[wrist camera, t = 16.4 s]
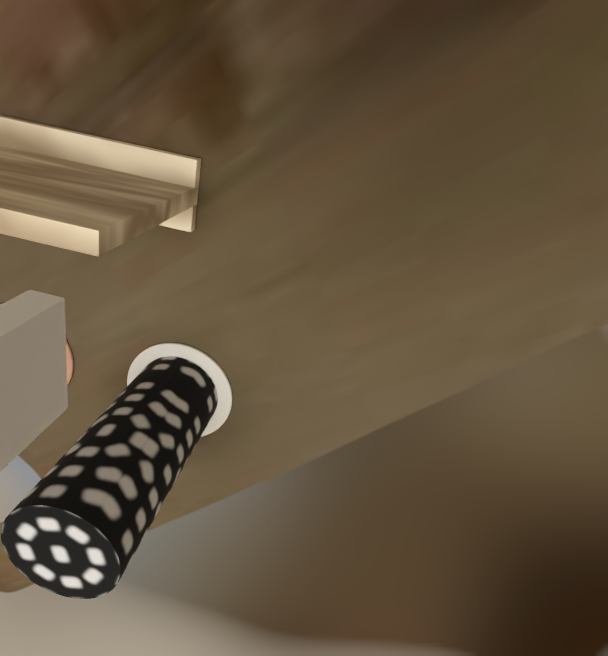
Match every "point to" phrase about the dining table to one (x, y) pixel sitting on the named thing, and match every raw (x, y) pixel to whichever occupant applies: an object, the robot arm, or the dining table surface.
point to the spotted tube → (111, 483)
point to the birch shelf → (89, 187)
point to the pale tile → (200, 360)
